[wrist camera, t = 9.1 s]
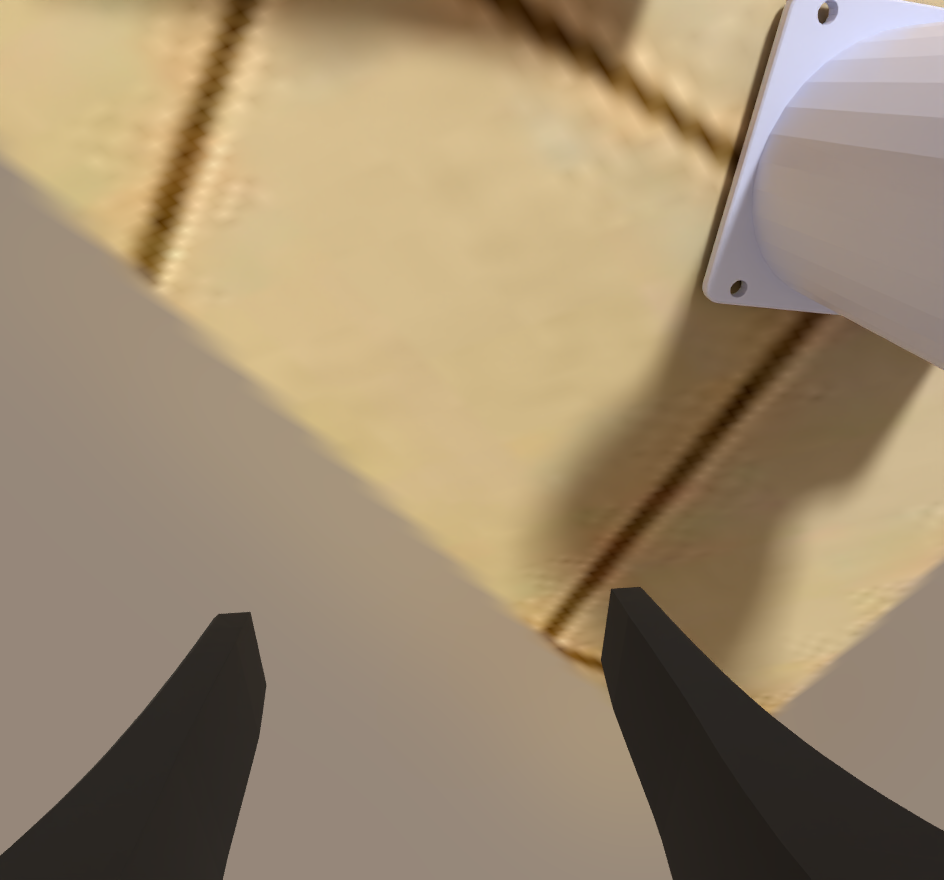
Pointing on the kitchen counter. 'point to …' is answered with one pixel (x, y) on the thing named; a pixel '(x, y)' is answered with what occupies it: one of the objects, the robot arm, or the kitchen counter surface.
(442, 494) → the kitchen counter surface
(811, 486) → the kitchen counter surface
